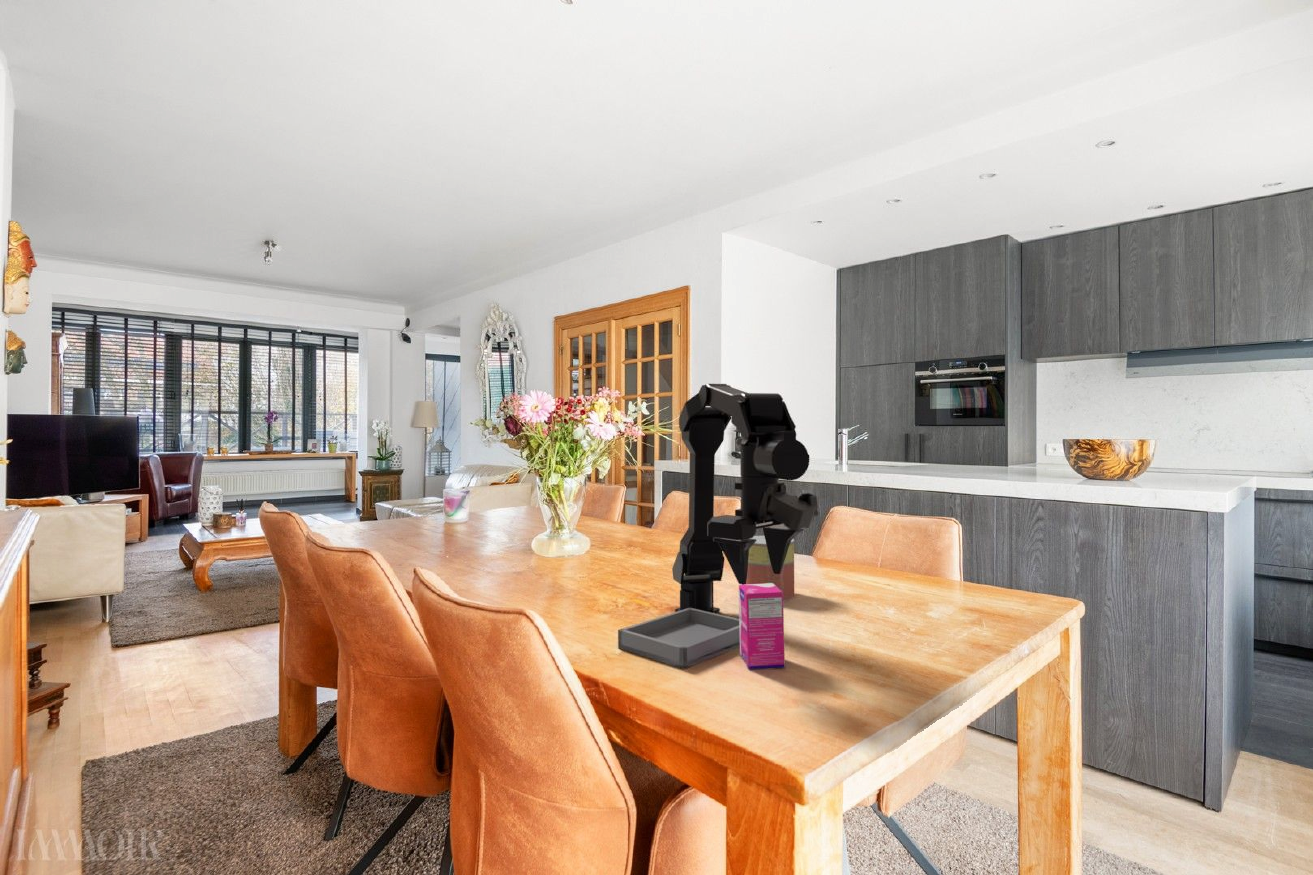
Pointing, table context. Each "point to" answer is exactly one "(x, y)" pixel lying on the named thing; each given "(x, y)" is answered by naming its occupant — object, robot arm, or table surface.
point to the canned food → (770, 568)
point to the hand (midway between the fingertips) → (760, 578)
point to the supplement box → (761, 626)
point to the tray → (682, 637)
